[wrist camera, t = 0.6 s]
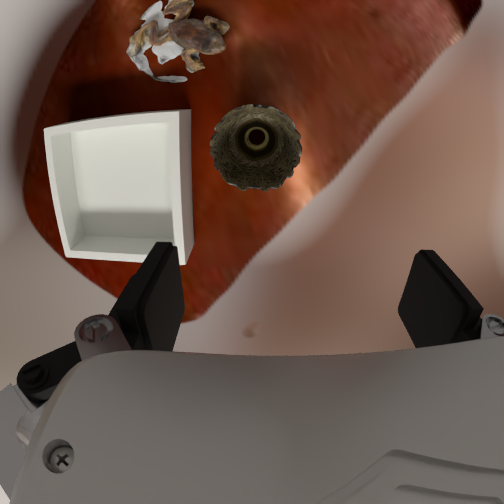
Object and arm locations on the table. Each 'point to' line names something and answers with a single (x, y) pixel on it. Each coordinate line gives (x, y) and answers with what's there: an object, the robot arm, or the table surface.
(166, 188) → the bin
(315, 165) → the table surface
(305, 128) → the table surface
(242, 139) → the embossed bronze vase
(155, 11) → the frog figurine
